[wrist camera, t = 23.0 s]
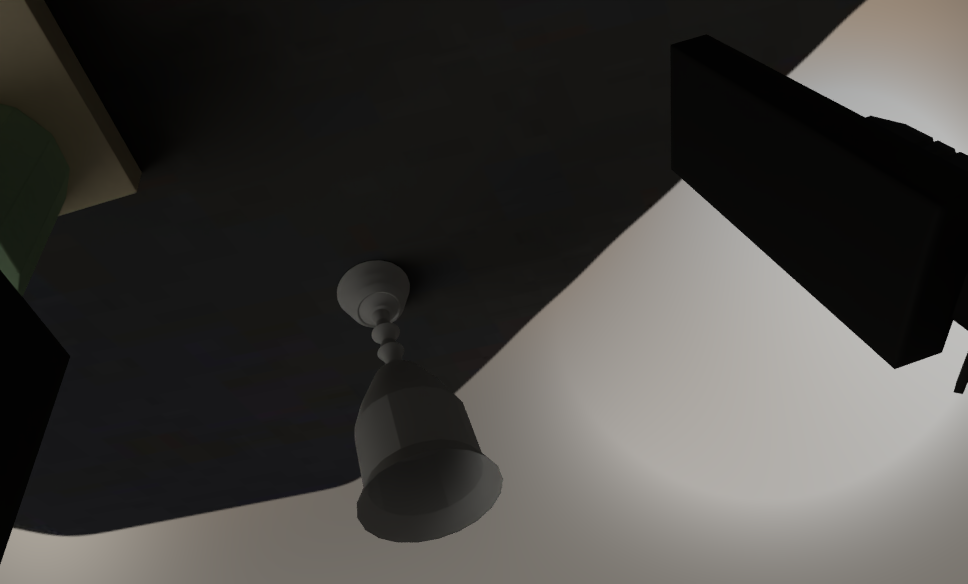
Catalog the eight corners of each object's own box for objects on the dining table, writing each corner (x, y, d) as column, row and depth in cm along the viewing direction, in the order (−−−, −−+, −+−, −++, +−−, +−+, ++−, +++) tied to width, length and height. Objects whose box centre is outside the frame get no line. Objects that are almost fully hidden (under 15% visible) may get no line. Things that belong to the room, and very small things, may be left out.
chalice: (434, 253, 46) (519, 445, 32) (414, 331, 50) (484, 536, 36) (327, 245, 44) (368, 451, 30) (314, 328, 47) (346, 549, 33)
